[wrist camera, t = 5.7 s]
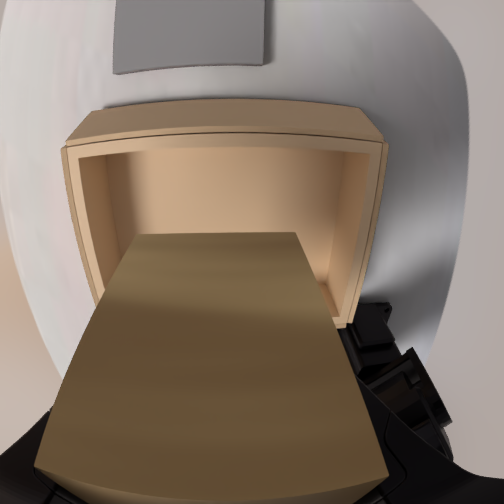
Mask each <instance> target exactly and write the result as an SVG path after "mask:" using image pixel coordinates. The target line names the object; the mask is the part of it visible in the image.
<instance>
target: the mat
mask: <svg viewBox="0 0 504 504" xmlns="http://www.w3.org/2000/svg"><path fill="white" fill-rule="evenodd" d="M264 8H265V0H116V9H115V22H114V41H113V74H116V75H121V74H128V73H134V72H142V71H149V70H158V69H168V68H180V67H195V66H227V65H239V66H262V65H263V51H264Z"/></svg>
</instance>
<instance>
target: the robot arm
mask: <svg viewBox="0 0 504 504" xmlns="http://www.w3.org/2000/svg"><path fill="white" fill-rule="evenodd" d="M386 308H387V309H386ZM391 311H392V306H391V305H390V303H387V302H386V303H375V304H363V305H357V307H356V311H355V314H354V318H353V321H352V323H346V328H337V331H338V334H339V336H340V339H341V342H342V344H343V347H344V349H345V352H346V354H347V357H348V360H349V362H350V365H351V367H352V370H353V373H354V375H355V378H356V381H357V383H358V386H359V389H360V392H361V394H362V397H363V400H364V403H365V405H366V408H367V411H368V414H369V417H370V419H371V422H372V425H373V428H374V431H375V434H376V437H377V440H378V443H379V446H380V449H381V452H382V455H383V458H384V461H385V464H386V467H387V470H388V474H389V476H388V477H387V478H386V479H385V480H384V481H382V482H381V483H380V484H379V485H377V486H376V487H375V488H373V489H372V490H371V491H370V492H368V493H367V494H366V495H364V496H363V497H361V498H360V499H359V500H357V501H356V502H354V503H353V504H504V479H499V478H491V477H484V476H479V475H475V474H473V473H470V472H468V471H466V470H464V469H462V468H461V467H459V466H458V465H457V464H455V463H454V462H453V454H452V450H451V446H450V442H449V439H448V436H447V434H446V432H445V430H444V428H443V427H446V426H447V425H449V424H450V423H452V420H451V418H450V416H449V414H448V412H447V410H446V408H445V406H444V403H443V401H442V400H441V398H440V396H439V394H438V392H437V390H436V388H435V386H434V384H433V382H432V381H431V379H430V377H429V375H428V373H427V372H426V370H425V368H424V366H423V364H422V362H421V361H420V359H419V357H418V356H417V354H416V352H415V350H414V349H413V347H411V348H410V349H408V350H407V351H406V353H405V354H403V355H401V353H400V351H399V349H398V347H397V346H396V344H395V342H394V341H395V338H394V336H393V334H392V333H391V331H390V329H389V327H388V326H387V322H388V319H389V317H390V314H391ZM52 408H53V406H52V407H51V408H50V411H47V412H46V413H45V414H44V415H43V416H42V418H41V419H40V420H39V421H38V422H37V423H36V424H35V425H34V426H33V427H32V428H31V429H30V430H29V431H28V432H26V433H25V434H24V435H23V436H22V437H21V438H20V439H19V440H18V441H16V442H15V443H14V444H13V445H12V446H11V447H9V448H8V449H7V450H6V451H5V452H4V453H2V454H1V455H0V504H89V503H87V502H85V501H84V500H82V499H80V498H79V497H77V496H76V495H74V494H72V493H71V492H69V491H68V490H66V489H65V488H63V487H62V486H60V485H59V484H57V483H56V482H54V481H53V480H52V479H50V478H49V477H47V476H46V475H45V474H43V473H42V472H41V471H39V470H38V469H37V468H35V467H34V464H35V460H36V457H37V453H38V450H39V447H40V444H41V440H42V437H43V434H44V431H45V428H46V425H47V422H48V419H49V416H50V414H51V411H52Z"/></svg>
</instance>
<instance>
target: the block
mask: <svg viewBox="0 0 504 504" xmlns="http://www.w3.org/2000/svg"><path fill="white" fill-rule="evenodd" d="M34 467H35V468H37V469H38V470H39V471H41V472H42V473H43V474H45V475H46V476H47V477H49V478H50V479H52V480H53V481H54V482H56V483H57V484H59V485H60V486H62V487H63V488H65V489H66V490H68V491H69V492H71V493H72V494H74V495H76V496H77V497H79V498H80V499H82V500H84V501H85V502H87V503H89V504H353V503H354V502H356V501H357V500H359V499H360V498H361V497H363V496H364V495H366V494H367V493H368V492H370V491H371V490H372V489H373V488H375V487H376V486H377V485H379V484H380V483H381V482H382V481H384V480H385V479H386V478H387V477H388V476H389V474H388V470H387V467H386V464H385V461H384V458H383V455H382V452H381V449H380V446H379V443H378V440H377V437H376V434H375V431H374V428H373V425H372V422H371V419H370V417H369V414H368V411H367V408H366V405H365V403H364V400H363V397H362V394H361V392H360V389H359V386H358V383H357V381H356V378H355V375H354V373H353V370H352V367H351V365H350V362H349V360H348V357H347V354H346V352H345V349H344V347H343V344H342V342H341V339H340V336H339V334H338V331H337V329H336V326H335V324H334V321H333V319H332V317H331V314H330V312H329V309H328V307H327V304H326V302H325V299H324V297H323V295H322V292H321V290H320V288H319V285H318V283H317V280H316V278H315V276H314V273H313V271H312V269H311V266H310V264H309V262H308V259H307V257H306V255H305V253H304V250H303V248H302V246H301V244H300V241H299V239H298V237H297V235H296V232H227V233H167V234H136V236H135V237H134V239H133V241H132V242H131V244H130V246H129V248H128V249H127V251H126V253H125V255H124V256H123V258H122V260H121V262H120V263H119V265H118V267H117V269H116V271H115V272H114V274H113V276H112V278H111V280H110V282H109V284H108V285H107V287H106V289H105V291H104V293H103V295H102V297H101V299H100V301H99V303H98V305H97V307H96V309H95V311H94V313H93V315H92V317H91V319H90V321H89V323H88V325H87V327H86V329H85V331H84V334H83V336H82V338H81V340H80V342H79V344H78V347H77V349H76V351H75V353H74V356H73V358H72V360H71V363H70V365H69V367H68V370H67V372H66V375H65V377H64V379H63V382H62V384H61V387H60V390H59V392H58V395H57V397H56V400H55V403H54V405H53V408H52V411H51V414H50V416H49V419H48V422H47V425H46V428H45V431H44V434H43V437H42V440H41V444H40V447H39V450H38V453H37V457H36V460H35V464H34Z"/></svg>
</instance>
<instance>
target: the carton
mask: <svg viewBox="0 0 504 504" xmlns="http://www.w3.org/2000/svg"><path fill="white" fill-rule="evenodd" d="M383 138H384V136H383V135H382V134H381V133H380V131H379V130H378V129H377V128H376V127H375V126H374V124H373V123H372V122H371V121H370V120H369V119H368V117H367V116H366V115H365V114H364V113H363V112H362V111H361V110H360V108H356V107H349V106H341V105H333V104H324V103H314V102H302V101H288V100H269V99H201V100H182V101H168V102H156V103H146V104H138V105H130V106H122V107H115V108H109V109H102V110H97V111H91V113H90V114H89V115H88V116H87V117H86V118H85V119H84V120H83V121H82V122H81V124H80V125H79V126H78V127H77V128H76V129H75V130H74V132H73V133H72V134H71V135H70V136H69V137H68V139H67V140H66V145H65V146H64V147H62V148H61V157H62V165H63V172H64V178H65V185H66V191H67V196H68V202H69V207H70V212H71V217H72V222H73V226H74V231H75V235H76V239H77V243H78V247H79V251H80V255H81V259H82V263H83V266H84V270H85V273H86V277H87V280H88V284H89V287H90V290H91V293H92V296H93V299H94V303H95V306H96V307H97V305H98V303H99V301H100V299H101V297H102V295H103V293H104V291H105V289H106V287H107V285H108V284H109V282H110V280H111V278H112V276H113V274H114V272H115V271H116V269H117V267H118V265H119V263H120V262H121V260H122V258H123V256H124V255H125V253H126V251H127V249H128V248H129V246H130V244H131V242H132V241H133V239H134V237H135V236H136V234H167V233H227V232H296V235H297V237H298V239H299V241H300V244H301V246H302V248H303V250H304V253H305V255H306V257H307V259H308V262H309V264H310V266H311V269H312V271H313V273H314V276H315V278H316V280H317V283H318V285H319V288H320V290H321V292H322V295H323V297H324V299H325V302H326V304H327V307H328V309H329V312H330V314H331V317H332V319H333V321H334V324H335V326H336V329H337V328H346V323H352V321H353V318H354V314H355V311H356V307H357V304H358V300H359V296H360V293H361V289H362V285H363V281H364V277H365V273H366V269H367V265H368V261H369V256H370V252H371V247H372V243H373V238H374V233H375V229H376V224H377V218H378V213H379V208H380V202H381V196H382V190H383V184H384V178H385V171H386V164H387V157H388V149H389V144H388V143H387V142H386V141H385V140H383Z"/></svg>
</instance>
